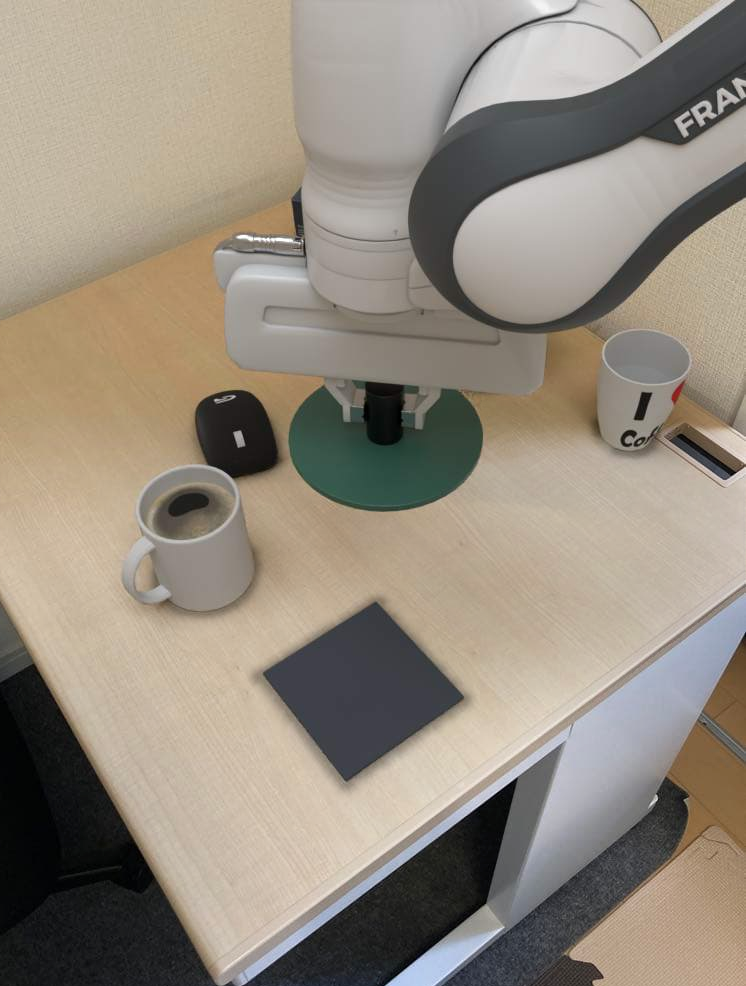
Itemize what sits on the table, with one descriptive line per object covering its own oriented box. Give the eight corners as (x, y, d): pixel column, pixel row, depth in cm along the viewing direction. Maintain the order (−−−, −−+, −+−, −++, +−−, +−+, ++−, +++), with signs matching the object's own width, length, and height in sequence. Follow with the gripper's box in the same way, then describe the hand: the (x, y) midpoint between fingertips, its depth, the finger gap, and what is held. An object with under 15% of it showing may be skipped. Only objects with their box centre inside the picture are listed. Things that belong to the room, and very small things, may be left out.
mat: (376, 603, 81) (376, 600, 81) (464, 698, 75) (464, 696, 74) (263, 674, 77) (262, 672, 77) (346, 782, 71) (345, 779, 70)
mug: (251, 530, 87) (237, 457, 79) (258, 611, 81) (243, 541, 73) (138, 544, 87) (112, 472, 79) (136, 627, 81) (108, 558, 73)
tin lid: (490, 389, 67) (497, 327, 63) (471, 529, 59) (477, 469, 55) (311, 372, 70) (305, 311, 65) (269, 505, 61) (259, 446, 57)
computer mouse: (254, 392, 99) (250, 364, 96) (285, 467, 92) (281, 439, 89) (187, 410, 98) (180, 381, 95) (213, 487, 91) (206, 459, 88)
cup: (615, 472, 89) (636, 396, 82) (569, 420, 94) (585, 344, 86) (683, 445, 91) (710, 368, 83) (635, 396, 96) (656, 319, 88)
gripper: (192, 261, 51) (227, 436, 62) (560, 289, 48) (530, 468, 59) (222, 201, 55) (250, 375, 66) (565, 222, 52) (536, 402, 63)
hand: (385, 419), depth 62 cm, fingers closed on tin lid, 2 cm apart
